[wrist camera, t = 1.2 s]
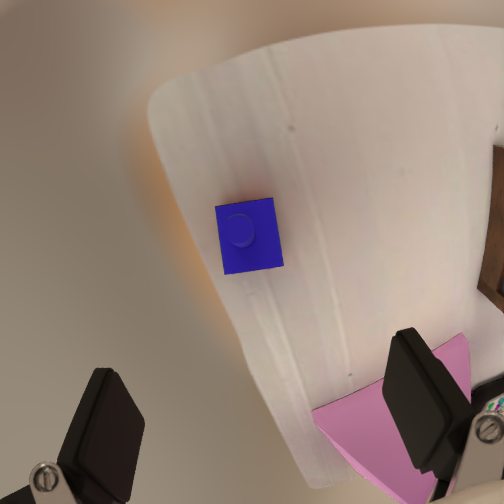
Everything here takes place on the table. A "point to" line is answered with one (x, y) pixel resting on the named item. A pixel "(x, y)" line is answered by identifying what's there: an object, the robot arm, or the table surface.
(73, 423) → the robot arm
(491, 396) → the phone
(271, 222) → the toy building block
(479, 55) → the table surface
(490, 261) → the doll bed
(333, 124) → the table surface
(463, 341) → the pink table lamp
